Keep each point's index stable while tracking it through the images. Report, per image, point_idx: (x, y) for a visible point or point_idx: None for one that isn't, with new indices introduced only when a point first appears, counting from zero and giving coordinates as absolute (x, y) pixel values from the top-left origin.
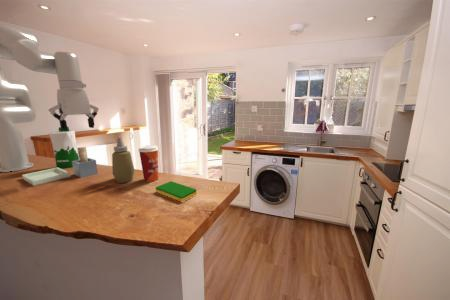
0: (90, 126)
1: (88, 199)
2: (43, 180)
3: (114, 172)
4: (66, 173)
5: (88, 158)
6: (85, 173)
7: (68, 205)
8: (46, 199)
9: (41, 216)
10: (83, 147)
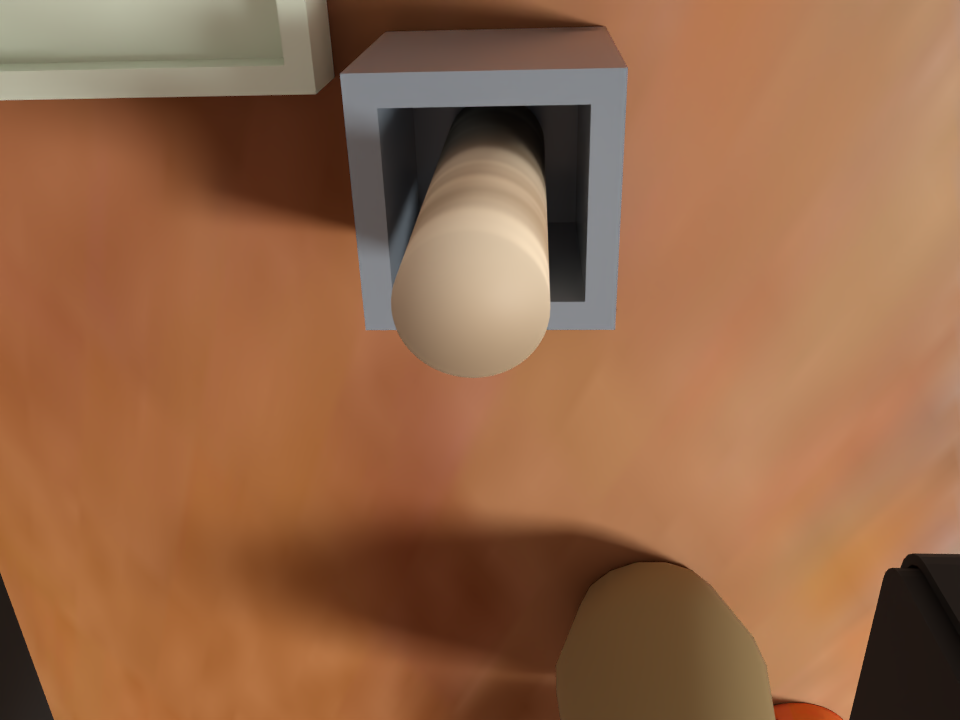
0: (874, 709)
1: (292, 697)
2: (22, 98)
3: (559, 708)
4: (270, 89)
5: (604, 110)
6: None
7: (177, 682)
8: (68, 487)
9: None
10: (502, 320)
